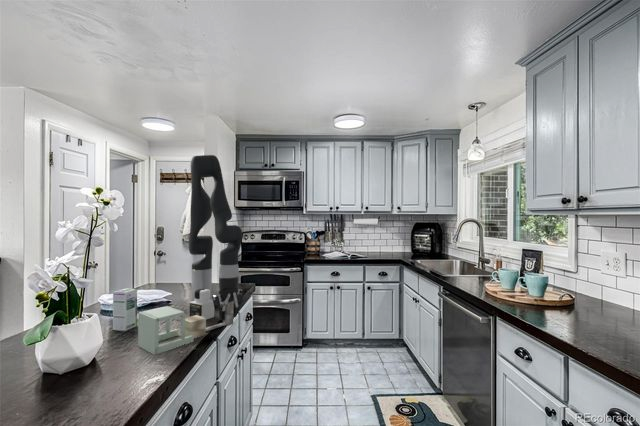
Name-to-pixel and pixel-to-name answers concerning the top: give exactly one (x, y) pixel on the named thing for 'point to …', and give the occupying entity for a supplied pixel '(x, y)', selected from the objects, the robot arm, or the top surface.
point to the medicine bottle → (202, 304)
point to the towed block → (198, 323)
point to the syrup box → (124, 309)
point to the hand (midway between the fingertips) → (228, 318)
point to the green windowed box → (150, 330)
